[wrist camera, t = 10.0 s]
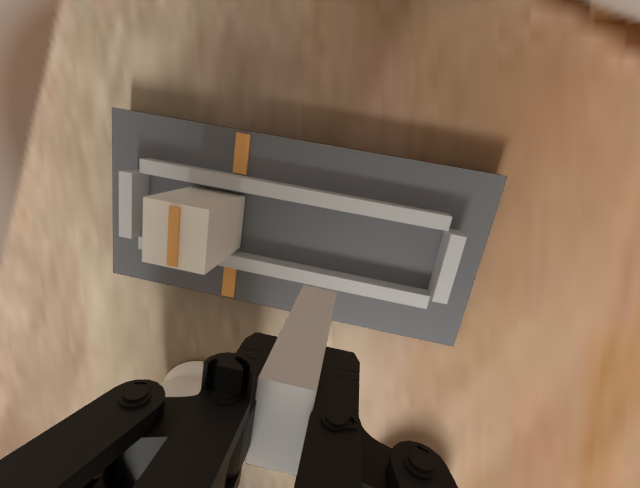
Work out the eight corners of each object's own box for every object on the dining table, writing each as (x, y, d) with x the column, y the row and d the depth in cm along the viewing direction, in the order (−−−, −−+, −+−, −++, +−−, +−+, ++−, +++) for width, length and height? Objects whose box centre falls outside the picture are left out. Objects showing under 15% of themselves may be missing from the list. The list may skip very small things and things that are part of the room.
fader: (240, 247, 26) (202, 276, 20) (190, 237, 27) (139, 262, 21) (245, 195, 25) (207, 210, 19) (193, 185, 26) (140, 197, 20)
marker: (234, 296, 28) (233, 297, 28) (222, 294, 28) (221, 295, 28) (251, 134, 24) (250, 134, 24) (237, 132, 24) (236, 132, 24)
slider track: (447, 333, 28) (459, 362, 24) (129, 264, 31) (95, 281, 27) (496, 174, 25) (520, 178, 21) (130, 110, 27) (90, 104, 23)
